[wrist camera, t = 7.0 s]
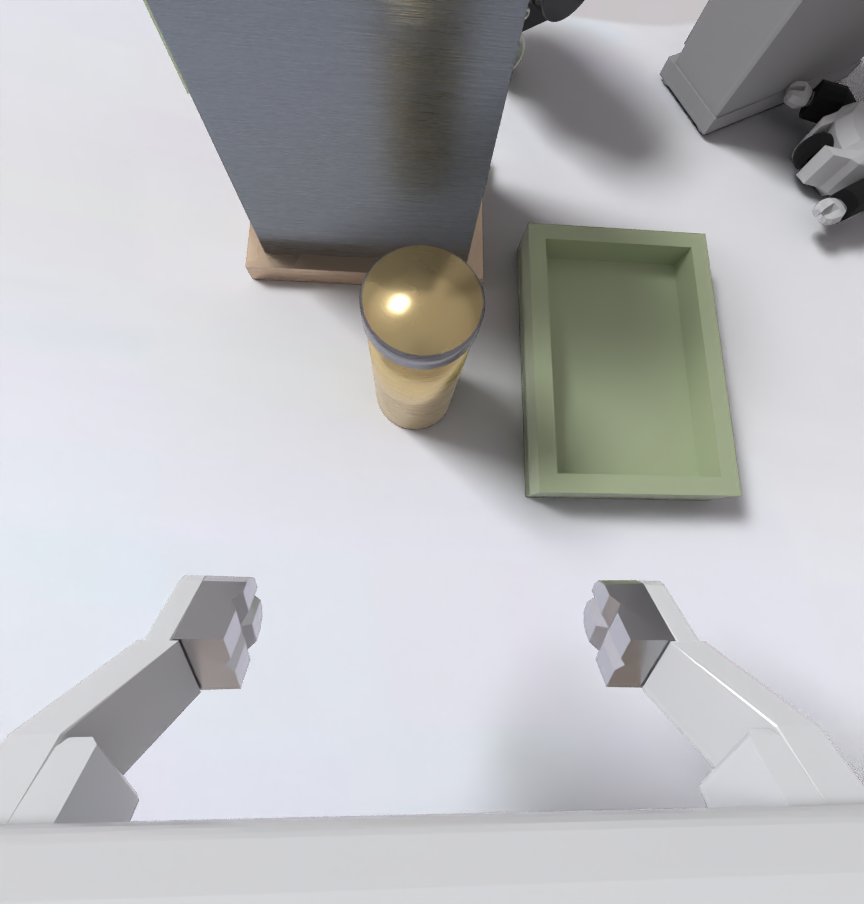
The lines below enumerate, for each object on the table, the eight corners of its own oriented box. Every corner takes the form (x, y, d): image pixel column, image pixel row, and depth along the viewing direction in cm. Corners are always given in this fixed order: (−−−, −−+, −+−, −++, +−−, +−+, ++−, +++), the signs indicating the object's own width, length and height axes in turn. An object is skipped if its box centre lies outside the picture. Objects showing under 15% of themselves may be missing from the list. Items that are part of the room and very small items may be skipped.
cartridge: (453, 431, 25) (486, 359, 15) (373, 430, 25) (356, 354, 15) (452, 358, 26) (484, 246, 16) (376, 356, 26) (361, 239, 16)
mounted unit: (479, 290, 27) (709, -442, 7) (252, 278, 26) (-251, -611, 6) (477, 157, 29) (651, -704, 9) (267, 142, 28) (-70, -862, 8)
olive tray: (708, 500, 25) (741, 495, 23) (525, 496, 25) (539, 491, 22) (679, 260, 29) (705, 233, 26) (517, 250, 28) (528, 222, 25)
